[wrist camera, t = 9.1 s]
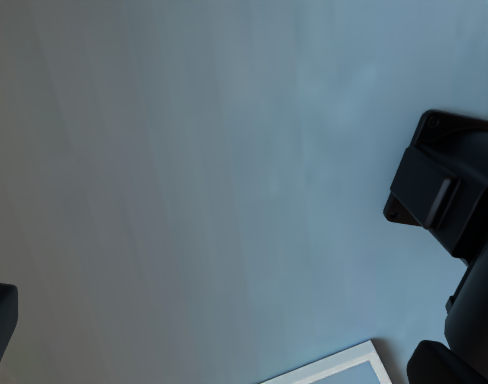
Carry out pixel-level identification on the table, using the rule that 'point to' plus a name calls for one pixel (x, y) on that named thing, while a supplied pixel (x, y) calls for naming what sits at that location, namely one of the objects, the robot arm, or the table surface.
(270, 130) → the table surface
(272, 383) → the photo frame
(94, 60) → the table surface
